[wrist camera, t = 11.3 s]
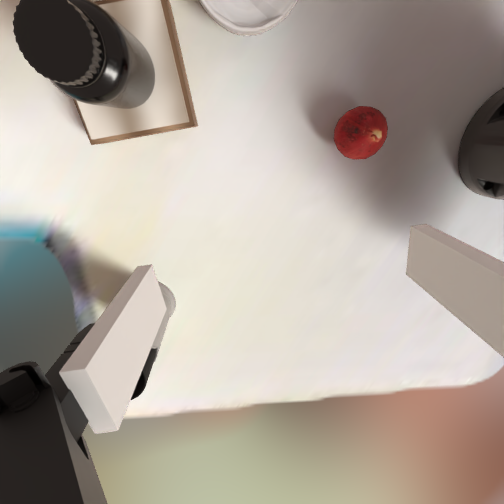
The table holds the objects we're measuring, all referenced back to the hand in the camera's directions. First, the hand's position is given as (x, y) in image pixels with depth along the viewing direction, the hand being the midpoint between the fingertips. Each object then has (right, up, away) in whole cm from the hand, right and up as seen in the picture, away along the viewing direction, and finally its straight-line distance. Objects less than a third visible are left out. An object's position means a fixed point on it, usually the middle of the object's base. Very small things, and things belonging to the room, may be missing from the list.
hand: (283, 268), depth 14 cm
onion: (+11, +17, +22) cm, 30 cm away
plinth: (-15, +21, +18) cm, 31 cm away
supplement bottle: (-15, +19, +14) cm, 28 cm away
